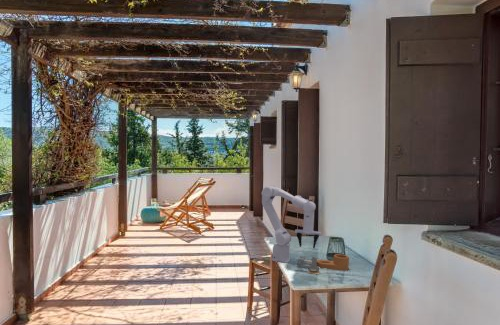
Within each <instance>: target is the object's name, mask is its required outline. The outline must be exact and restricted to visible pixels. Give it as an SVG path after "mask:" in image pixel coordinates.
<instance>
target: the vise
mask: <svg viewBox="0 0 500 325" xmlns="http://www.w3.org/2000/svg"><path fill="white" fill-rule="evenodd" d="M318 260H319V259H318V258H317V262H318ZM309 265H312V259H311V260H310V259H306V256H304V255H300V256H299V257H298V259H297V268H301V269H307V268H309Z"/></svg>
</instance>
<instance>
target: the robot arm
mask: <svg viewBox="0 0 500 325" xmlns="http://www.w3.org/2000/svg"><path fill="white" fill-rule="evenodd" d="M275 197H281V198H283V199H285V200H287V201H290V202H291V203H292V205H293V206H295V207H297V208H299V209H302V210H303V211H304V212H303V226H302V229H295V230H294V233H295V234H296V237H297V240H298V243H299V244H298V245H299V247H300V248H302V239H303V235H309V236H310V235H311V236H313V246H312V248H313V249H316V244H317V241H318V240H319V237H321V236H322V232H321V231H317V230H314V228H315V227H314V226H315V211H316V208H317V207H316V203H315V202H314V201H311V200H310V201H309V199H305V198H303V197H302V196H301V195H295V196H294V195H293V194H291V193H289V192H288V191H285V190H283V189H282V188H280V187H277V186H275V185H269V186H265V187H263V188H262V191H261V204H262V206H263V209H264V211H265V213H266V216H267V217H268V219H269V221H270V223H271V225H272V228H273V229H274V236H275V241H276V244H273V247H272V258H271V261H272V262H273V261H274V262H279V263H280V262H281V263H289V262H290V261H291V258H290V249H291V248H290V246H291V245H290V244H291V241H292V235H291V234H290V233H289V232H288V231H287V229H286V228H285V227H284V226H283V224H282V222H281V219H280V217H279V216H278V213H277V211H276V209H275V206H274V205H273V201H274V199H275Z"/></svg>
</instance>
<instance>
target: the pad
mask: <svg viewBox="0 0 500 325" xmlns="http://www.w3.org/2000/svg"><path fill="white" fill-rule="evenodd" d="M308 271H309V269H308V270H307V271H306V274H311V275H316V274H317V276H319V275H320V273H321V270H319V273H316V270H314V269H312V271H311V272H308Z"/></svg>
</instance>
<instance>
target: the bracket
mask: <svg viewBox="0 0 500 325" xmlns="http://www.w3.org/2000/svg"><path fill="white" fill-rule="evenodd" d="M349 260H350V256H349V255H346V254H339V253H338V254H337V253H336V254H334V255H333V259H332V260H327V259H318V262H317V266H319V267H320V268H319V269H324V268H327V269H326V270H333V271H344V272H345V271H348V270H349V264H350V261H349Z"/></svg>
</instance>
